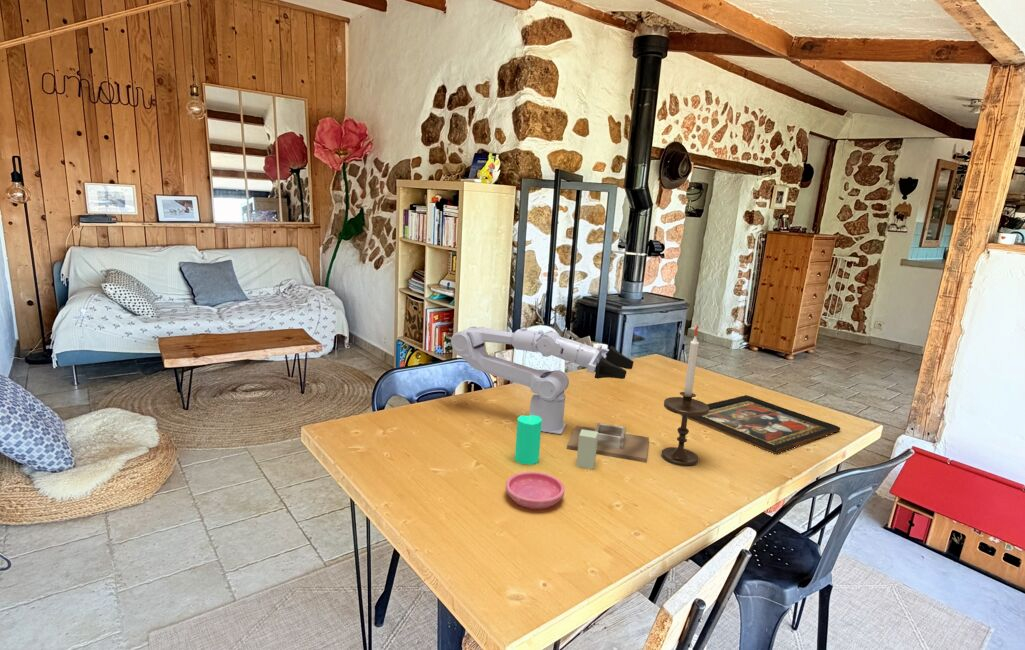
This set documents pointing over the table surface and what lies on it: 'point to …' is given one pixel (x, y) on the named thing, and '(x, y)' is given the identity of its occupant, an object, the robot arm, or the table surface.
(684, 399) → the candlestick
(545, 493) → the saucer
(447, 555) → the table surface
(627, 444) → the brown socket board
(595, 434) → the rectangular block
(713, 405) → the religious icon
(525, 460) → the green upright cylinder
